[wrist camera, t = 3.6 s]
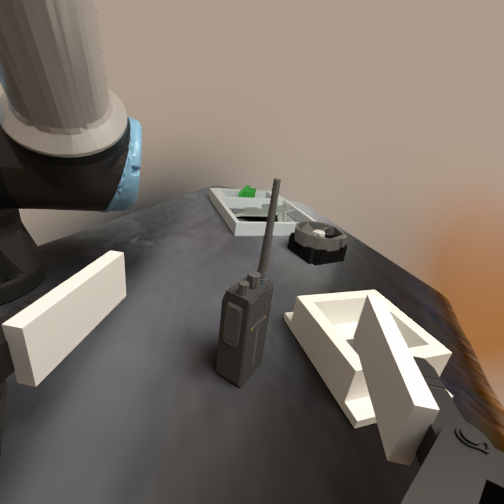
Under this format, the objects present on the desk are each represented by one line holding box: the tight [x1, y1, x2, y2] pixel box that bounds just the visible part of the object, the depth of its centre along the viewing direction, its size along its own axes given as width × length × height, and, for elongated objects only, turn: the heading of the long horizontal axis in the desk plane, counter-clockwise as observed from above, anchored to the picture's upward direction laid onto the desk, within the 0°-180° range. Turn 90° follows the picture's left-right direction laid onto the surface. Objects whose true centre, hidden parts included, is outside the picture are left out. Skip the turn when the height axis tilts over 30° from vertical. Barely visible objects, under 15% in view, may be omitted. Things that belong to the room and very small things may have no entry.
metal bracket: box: [234, 204, 294, 222], centre depth 78 cm, size 14×6×15 cm
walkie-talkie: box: [216, 178, 280, 387], centre depth 28 cm, size 5×3×20 cm
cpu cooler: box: [288, 221, 348, 265], centre depth 61 cm, size 10×6×10 cm
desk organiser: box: [209, 188, 317, 236], centre depth 81 cm, size 30×21×3 cm
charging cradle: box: [284, 290, 453, 429], centre depth 35 cm, size 16×12×5 cm
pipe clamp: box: [238, 185, 256, 198], centre depth 89 cm, size 10×4×4 cm, turn 168°
